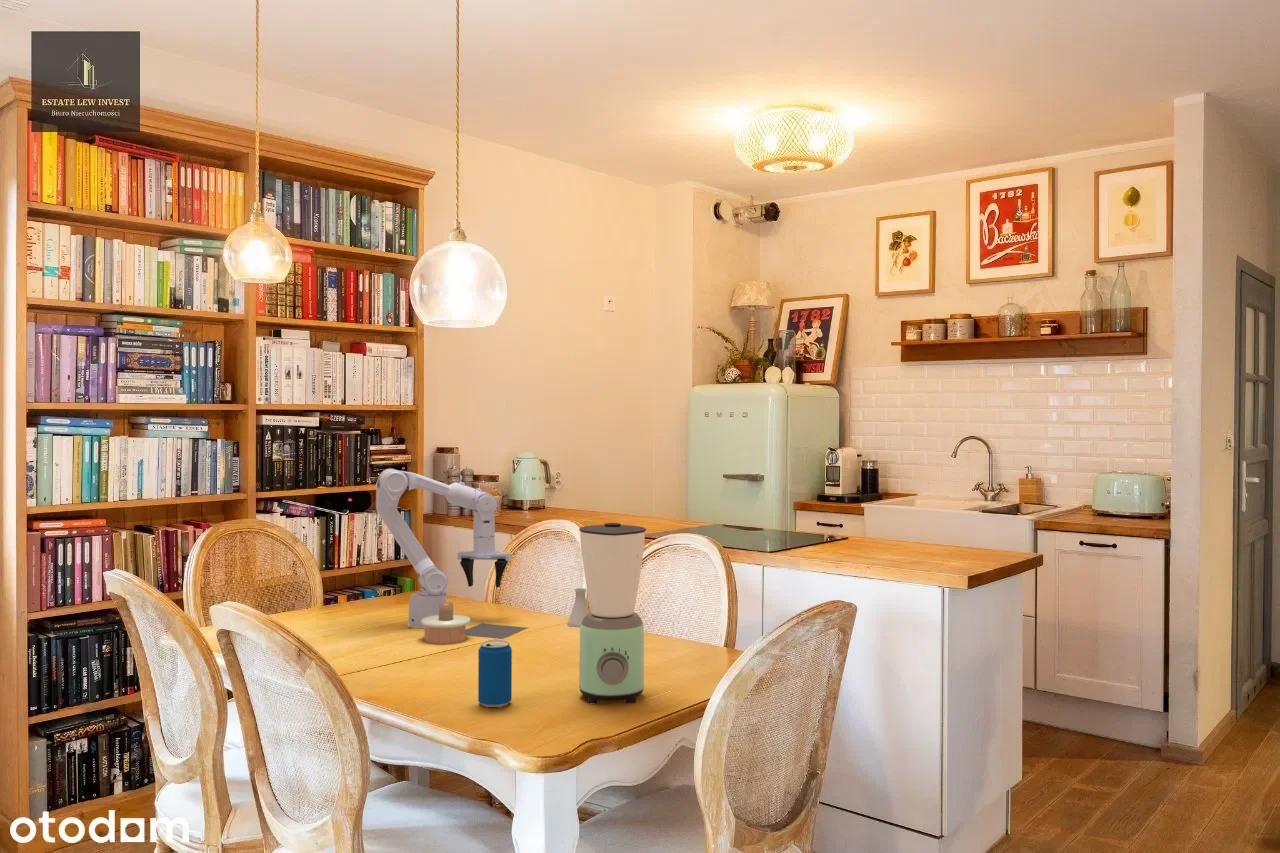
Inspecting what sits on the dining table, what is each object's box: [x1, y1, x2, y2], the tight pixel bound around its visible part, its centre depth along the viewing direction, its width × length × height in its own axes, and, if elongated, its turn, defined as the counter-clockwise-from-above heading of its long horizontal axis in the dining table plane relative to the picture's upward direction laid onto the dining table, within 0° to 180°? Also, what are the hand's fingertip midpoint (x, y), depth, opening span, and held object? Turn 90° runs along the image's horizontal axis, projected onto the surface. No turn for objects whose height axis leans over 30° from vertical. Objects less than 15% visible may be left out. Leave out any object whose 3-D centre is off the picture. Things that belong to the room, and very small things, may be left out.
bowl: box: [424, 625, 467, 645], centre depth 249 cm, size 10×10×4 cm
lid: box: [421, 601, 471, 628], centre depth 249 cm, size 12×12×5 cm
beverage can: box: [477, 639, 513, 708], centre depth 195 cm, size 6×6×12 cm
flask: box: [567, 587, 590, 628], centre depth 268 cm, size 7×7×10 cm
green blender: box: [578, 522, 647, 704], centre depth 202 cm, size 19×13×35 cm
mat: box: [466, 623, 528, 640], centre depth 259 cm, size 14×14×1 cm
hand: (484, 586), depth 271 cm, fingers open, 7 cm apart
